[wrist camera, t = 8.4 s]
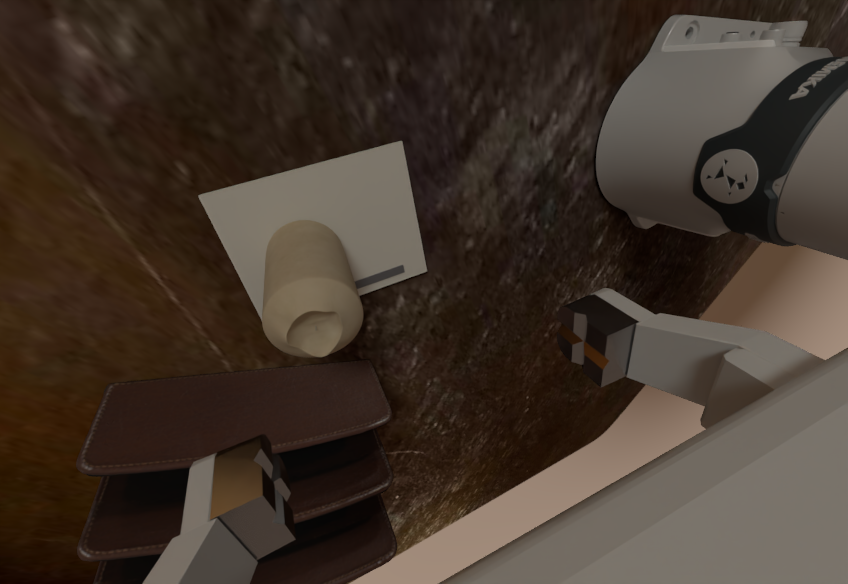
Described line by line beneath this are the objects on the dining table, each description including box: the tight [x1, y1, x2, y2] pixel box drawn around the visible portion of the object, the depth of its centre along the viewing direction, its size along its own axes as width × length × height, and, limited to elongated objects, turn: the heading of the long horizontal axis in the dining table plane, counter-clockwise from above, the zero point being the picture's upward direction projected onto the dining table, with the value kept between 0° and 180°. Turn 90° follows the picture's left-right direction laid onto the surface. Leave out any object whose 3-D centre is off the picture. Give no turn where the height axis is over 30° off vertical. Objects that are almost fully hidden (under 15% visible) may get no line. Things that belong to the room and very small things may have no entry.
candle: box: [262, 220, 363, 357], centre depth 24 cm, size 6×6×10 cm
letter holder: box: [76, 360, 397, 584], centre depth 28 cm, size 10×20×14 cm, turn 80°
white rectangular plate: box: [198, 141, 427, 320], centre depth 29 cm, size 14×11×1 cm
